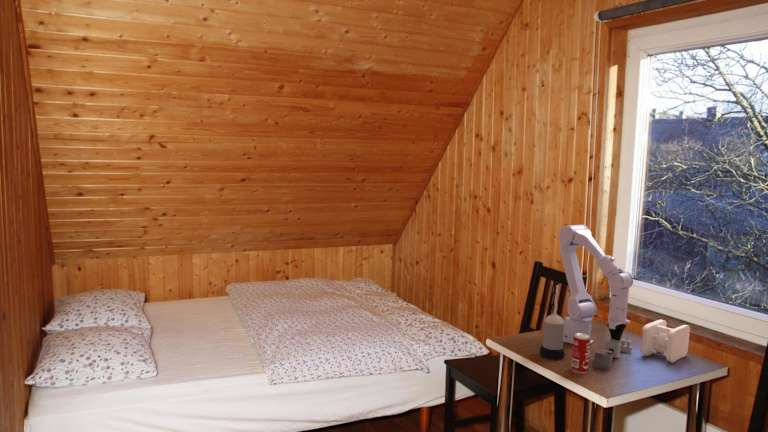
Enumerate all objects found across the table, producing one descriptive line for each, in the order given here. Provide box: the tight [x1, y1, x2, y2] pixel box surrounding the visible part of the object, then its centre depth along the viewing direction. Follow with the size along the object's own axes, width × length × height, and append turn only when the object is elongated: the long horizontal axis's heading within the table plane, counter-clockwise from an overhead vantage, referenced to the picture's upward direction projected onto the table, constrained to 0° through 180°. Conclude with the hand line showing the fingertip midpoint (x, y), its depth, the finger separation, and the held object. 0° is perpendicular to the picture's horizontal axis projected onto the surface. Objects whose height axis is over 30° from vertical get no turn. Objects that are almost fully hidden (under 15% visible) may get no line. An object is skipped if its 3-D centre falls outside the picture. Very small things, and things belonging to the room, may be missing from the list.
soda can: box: [570, 333, 591, 375], centre depth 190 cm, size 5×5×12 cm
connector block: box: [593, 349, 614, 371], centre depth 195 cm, size 3×5×5 cm, turn 54°
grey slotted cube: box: [604, 337, 622, 359], centre depth 204 cm, size 4×4×5 cm
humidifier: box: [539, 284, 566, 361], centre depth 203 cm, size 8×8×25 cm
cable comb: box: [609, 336, 633, 354], centre depth 212 cm, size 2×8×4 cm, turn 55°
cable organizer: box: [640, 319, 691, 364], centre depth 207 cm, size 15×11×12 cm
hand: (615, 344), depth 207 cm, fingers closed
